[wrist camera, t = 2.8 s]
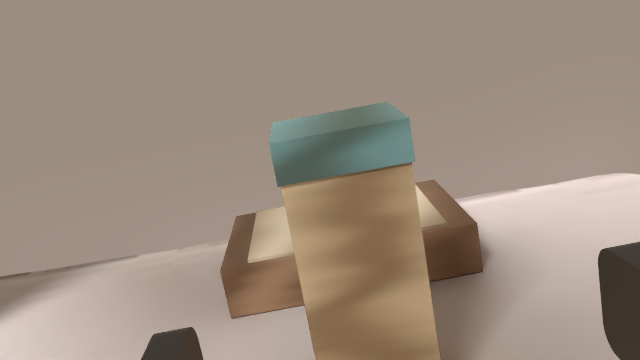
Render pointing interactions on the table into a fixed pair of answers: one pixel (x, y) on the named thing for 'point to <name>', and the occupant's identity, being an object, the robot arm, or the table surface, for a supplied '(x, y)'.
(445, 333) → the table surface
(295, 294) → the dock
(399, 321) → the teal topped tan block
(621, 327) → the robot arm
